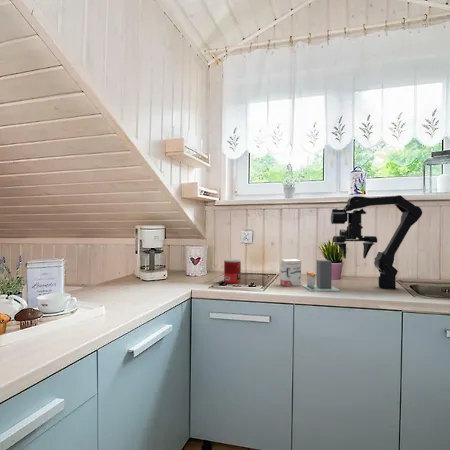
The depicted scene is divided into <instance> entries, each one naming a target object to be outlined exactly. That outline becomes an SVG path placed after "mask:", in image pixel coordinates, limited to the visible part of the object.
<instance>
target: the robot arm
mask: <svg viewBox="0 0 450 450" xmlns="http://www.w3.org/2000/svg"><path fill="white" fill-rule="evenodd" d="M386 205H394V206H396V209H398V210H399V211H400V212H401V217H400V223H399V224H398V227H397V228H396V230H395V232H394V233H393V235H392V237H391V239H390V240H389V242H388V243H387V246H386V248H385V249H383V251H382V252H381V251H378V252H377V254H376V256H375V257H374V259H373V260H374V262H373V264H374V266H375V268H376V269H377V271H378V273H379V275H378V277H377V278H378V279H377V280H378V281H377V282H378V283H377V285H378V287H379V288H380V289H390V290H391V289H393V290H397V286H396V284H397V283H396V280H397V278H396V276H397V274H398V272H399V271H398V269H397V268H395V267H394V266H393V265H394V261H395V256H396V255H395V254H396V253H397V251H398V250H399V248H400V246H401V244H402V243H403V241H404V239H405V238H406V235H407V234H408V232H409V230H410V229H411V227H412V226H414V225H415V223H417V222H418V221H419V219H420V218H421V217H422V215H423V211H422V210H423V209H422V208H421V207H420V206H418V205H415V204H414V203H413V202H410V201H409V200H408V199H406V198H405V197H404V196H402V195H400V194H399V195H392V196H391V195H389V196H377V197H376V196H375V197H367V196H362V195H361V196H360V195H356V196H355V195H354V196H352V197H349V198H348V199H347V202H346V205H345V206H344V207H343V208H342V209H337V208H332V209H331V213H330V224H331V225H345V223H346V222H347V227H346V229H344V228H342V229H339V233H338V235H334V236H333V237H332V243H335V244H336V245H338V247H339V249H340V251H341V254H342V257H343V259H346V258H347V243H346V242H363V243H362V245H363V255H362V256H363V259H366V258H367V256H368V254H369V252H370V250H371V248H372V247H373V245H375V243H378V237H377V236H375V235H374V236H373V235H364V236H363V235H362V229H363V226H362V215H366V214H367V211H365V210H364V208H366V207H372V206H373V207H375V206H386ZM351 211H352V212H351Z"/></svg>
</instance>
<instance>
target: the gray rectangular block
mask: <svg viewBox="0 0 450 450" xmlns="http://www.w3.org/2000/svg"><path fill="white" fill-rule="evenodd" d="M332 265H333V264H332V260H329V259H327V258H322V257H321V259H316V285H317V287H318V288H320V289H331V286H332Z"/></svg>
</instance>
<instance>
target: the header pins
mask: <svg viewBox="0 0 450 450" xmlns="http://www.w3.org/2000/svg"><path fill="white" fill-rule="evenodd" d="M315 276H316V274H315V273H313V272H311V271H306V285H307V287H309V288H311V289H314V285H315Z"/></svg>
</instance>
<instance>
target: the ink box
mask: <svg viewBox="0 0 450 450" xmlns="http://www.w3.org/2000/svg"><path fill="white" fill-rule="evenodd" d="M280 285H281V286H283V287H296V286H297V287H298V286H300V287H302V260H300V259H296V258H295V259H281V260H280Z"/></svg>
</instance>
